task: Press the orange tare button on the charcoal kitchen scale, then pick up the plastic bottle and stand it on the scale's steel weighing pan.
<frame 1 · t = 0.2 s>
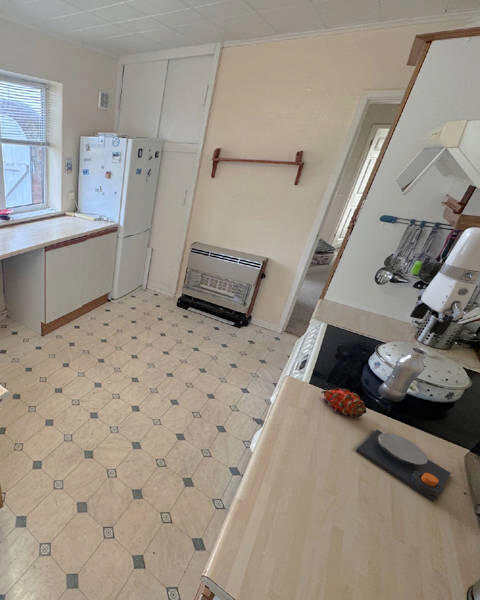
hand: (425, 325, 97), 30 cm above the counter, tool pointing down, fingers open, 9 cm apart
tare button: (429, 479, 79), point 4 cm above the counter, slide at 0.1 cm
scale pan: (394, 458, 89), resting on scale
plastic bottle: (387, 398, 112), on the counter
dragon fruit: (337, 410, 105), on the counter
scale: (399, 464, 87), on the counter
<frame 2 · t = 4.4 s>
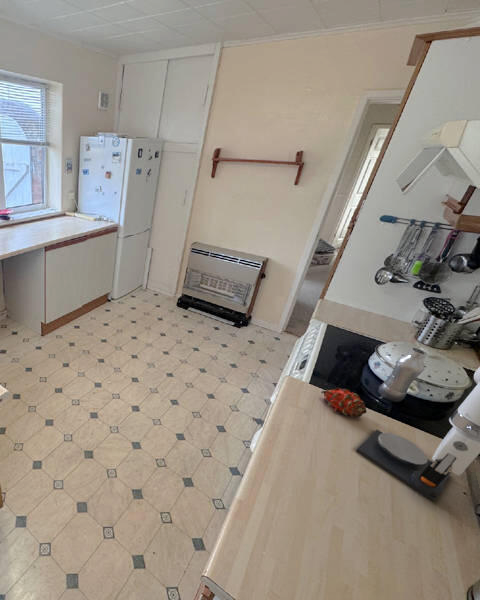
hand: (429, 478, 79), 4 cm above the counter, tool pointing down, fingers closed
tare button: (428, 481, 79), point 3 cm above the counter, slide at -0.4 cm, touching gripper
everything else where it was.
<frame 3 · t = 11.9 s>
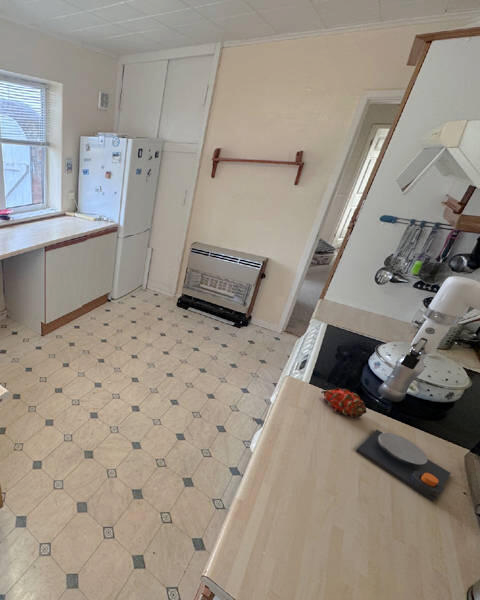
hand: (410, 363, 105), 15 cm above the counter, tool pointing down, fingers closed on plastic bottle, 6 cm apart
tare button: (429, 479, 79), point 4 cm above the counter, slide at 0.1 cm
plastic bottle: (387, 398, 112), on the counter, touching gripper
everything else where it was.
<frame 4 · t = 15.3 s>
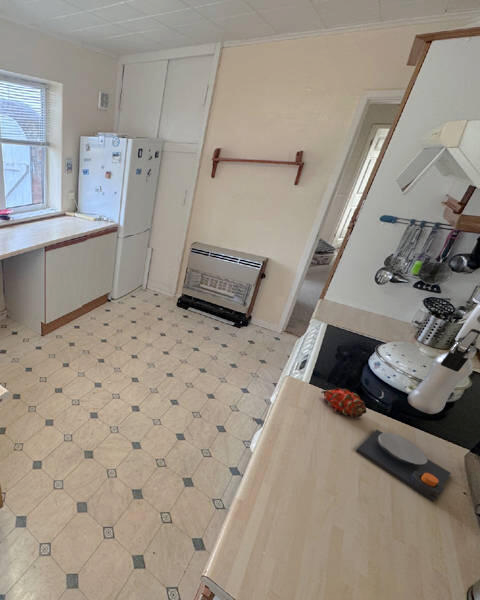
hand: (453, 363, 80), 30 cm above the counter, tool pointing down, fingers closed on plastic bottle, 6 cm apart
plastic bottle: (420, 408, 87), point 14 cm above the counter, touching gripper
everything else where it was.
when the fingers open (19 cm above the counter, at t = 18.7 s): plastic bottle stays where it is, resting on scale pan.
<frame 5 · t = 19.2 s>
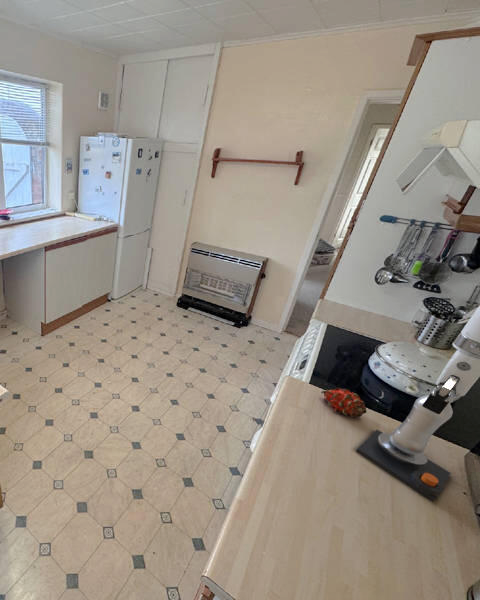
hand: (436, 403, 80), 21 cm above the counter, tool pointing down, fingers open, 9 cm apart
plastic bottle: (402, 447, 87), point 4 cm above the counter, touching scale pan
everything else where it was.
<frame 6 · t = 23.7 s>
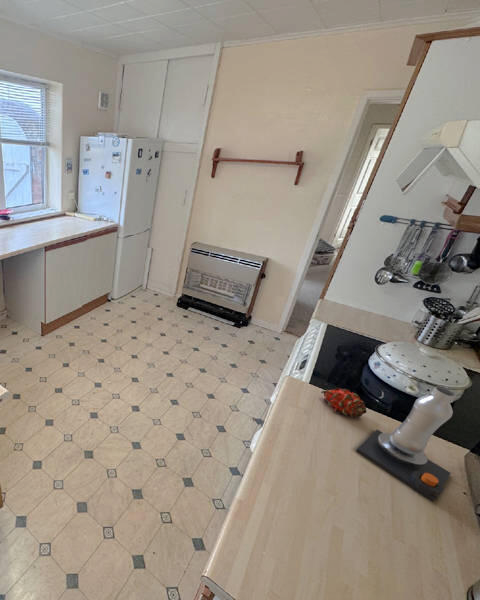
nothing on the counter moved.
at the end: tare button pushed in 1.0 cm at the most during the clip, back to where it started at the end; tare button slide at 0.1 cm; plastic bottle 0.1 cm off-centre on the scale pan, point 4.1 cm above the scale pan's base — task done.
